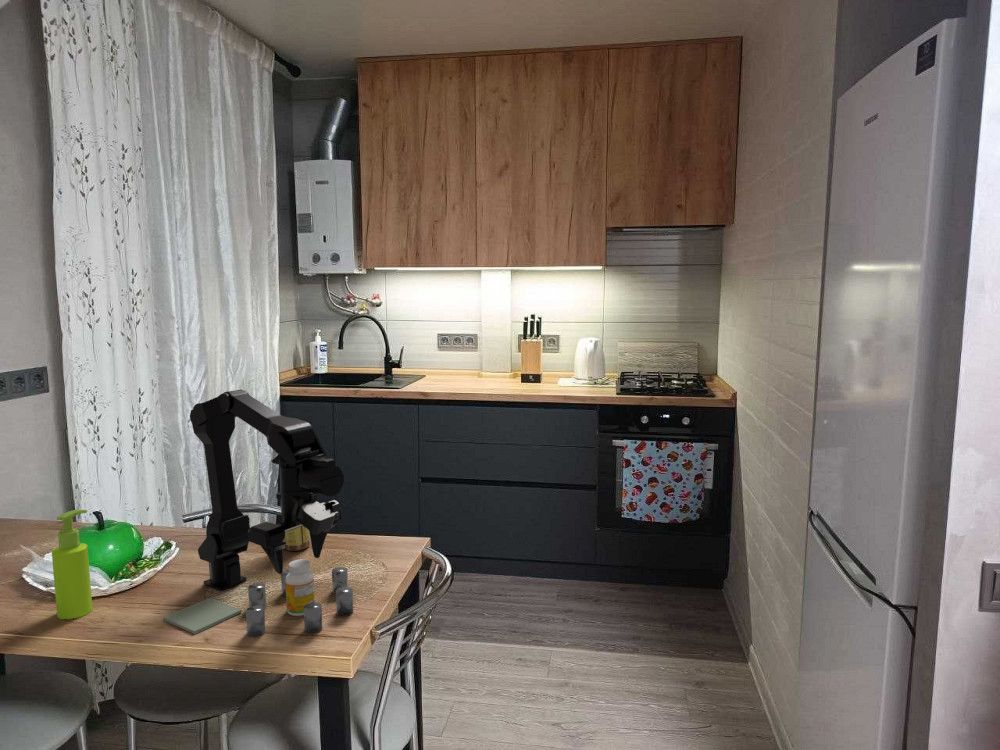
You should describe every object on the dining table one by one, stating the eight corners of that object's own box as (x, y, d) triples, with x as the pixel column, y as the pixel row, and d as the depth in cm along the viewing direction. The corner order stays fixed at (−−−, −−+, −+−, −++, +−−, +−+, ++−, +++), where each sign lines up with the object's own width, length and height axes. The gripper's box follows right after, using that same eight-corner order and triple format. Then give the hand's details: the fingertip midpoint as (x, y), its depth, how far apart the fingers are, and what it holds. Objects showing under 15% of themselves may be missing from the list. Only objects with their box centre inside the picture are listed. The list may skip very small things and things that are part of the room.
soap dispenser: (103, 604, 136) (96, 508, 134) (75, 620, 129) (67, 519, 127) (78, 602, 137) (70, 506, 135) (49, 618, 131) (40, 517, 128)
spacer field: (216, 622, 129) (215, 600, 128) (314, 577, 149) (313, 558, 148) (284, 651, 118) (283, 626, 118) (379, 598, 138) (378, 577, 138)
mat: (163, 620, 130) (163, 617, 129) (210, 600, 138) (210, 597, 138) (194, 634, 124) (194, 631, 124) (241, 612, 132) (241, 609, 132)
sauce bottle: (302, 541, 171) (299, 464, 168) (314, 547, 166) (311, 468, 164) (278, 547, 166) (274, 468, 164) (289, 554, 162) (286, 473, 159)
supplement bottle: (285, 606, 135) (283, 560, 134) (313, 602, 137) (312, 556, 136) (287, 618, 130) (285, 570, 129) (316, 614, 132) (314, 566, 131)
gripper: (284, 507, 118) (288, 592, 120) (360, 482, 134) (362, 558, 136) (244, 497, 124) (248, 578, 126) (321, 474, 140) (323, 547, 142)
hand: (298, 565), depth 132 cm, fingers open, 9 cm apart
